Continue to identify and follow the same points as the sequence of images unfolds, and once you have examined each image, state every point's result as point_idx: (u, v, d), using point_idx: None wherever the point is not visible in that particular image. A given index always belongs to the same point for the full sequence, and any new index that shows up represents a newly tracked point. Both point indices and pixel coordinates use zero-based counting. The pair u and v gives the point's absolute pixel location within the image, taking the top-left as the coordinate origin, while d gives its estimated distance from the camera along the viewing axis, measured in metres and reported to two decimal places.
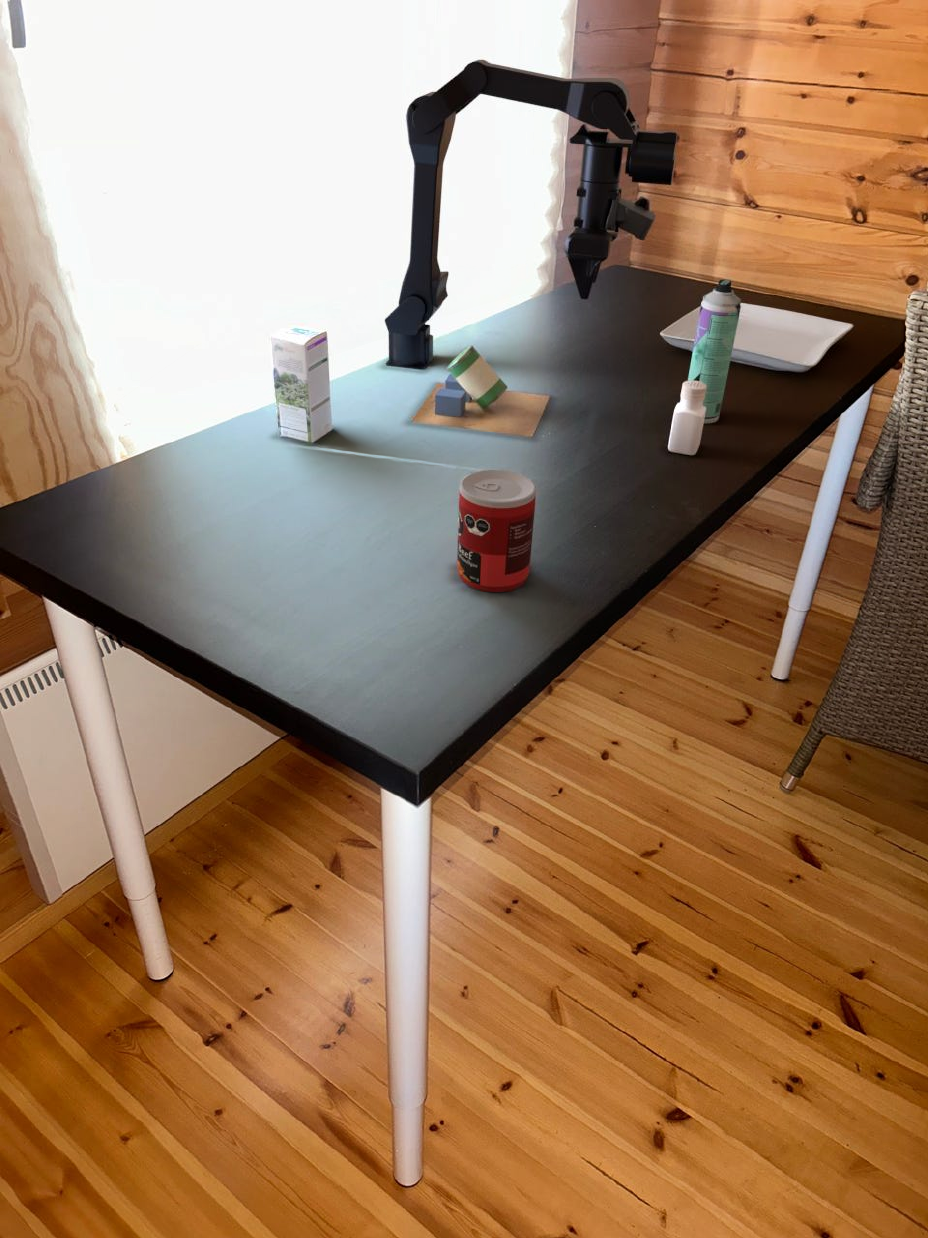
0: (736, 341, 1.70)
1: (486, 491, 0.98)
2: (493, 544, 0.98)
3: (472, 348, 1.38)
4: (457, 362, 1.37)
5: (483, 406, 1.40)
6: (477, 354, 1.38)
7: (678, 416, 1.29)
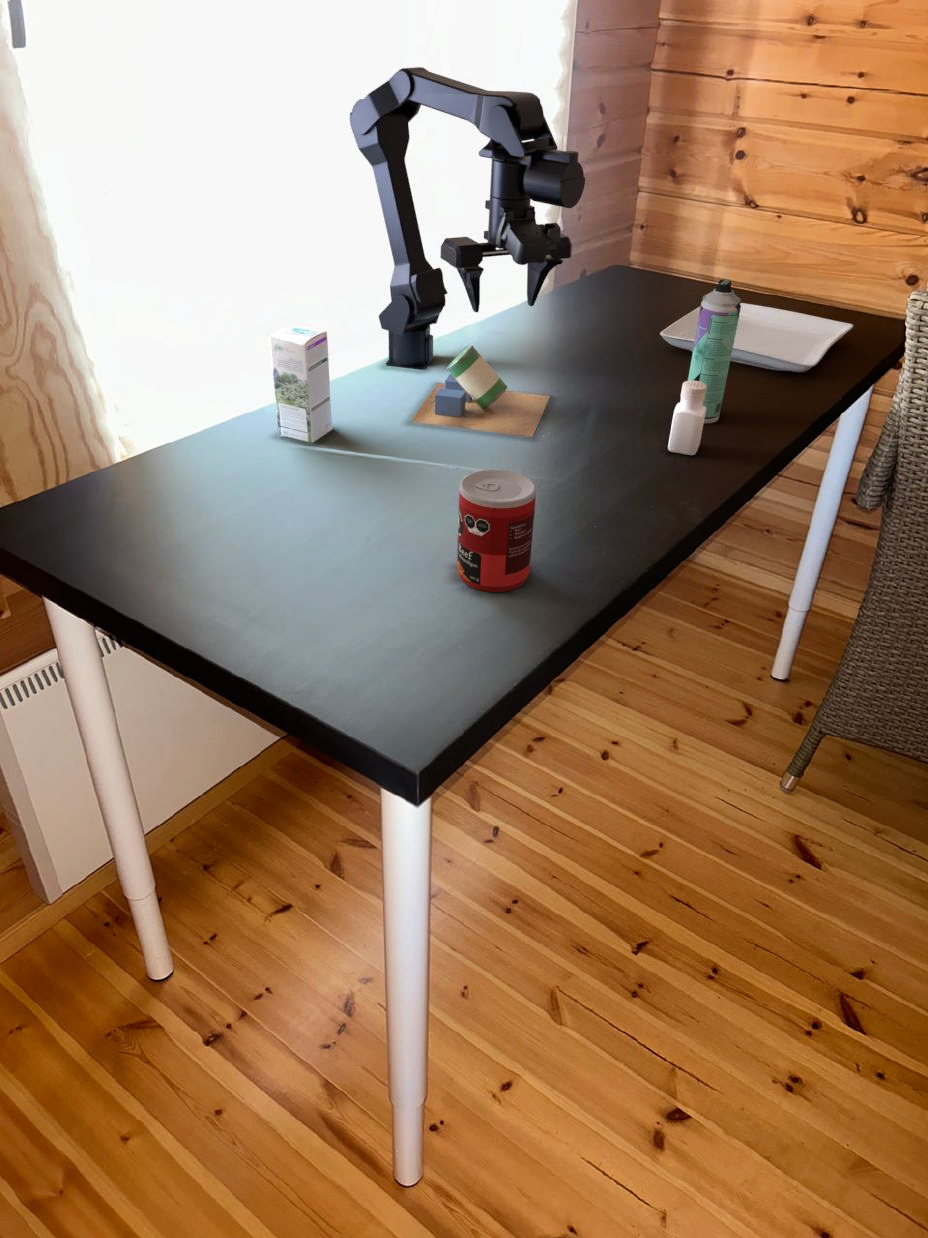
0: (736, 341, 1.70)
1: (486, 491, 0.98)
2: (493, 544, 0.98)
3: (472, 348, 1.38)
4: (457, 362, 1.37)
5: (483, 406, 1.40)
6: (477, 354, 1.38)
7: (678, 416, 1.29)
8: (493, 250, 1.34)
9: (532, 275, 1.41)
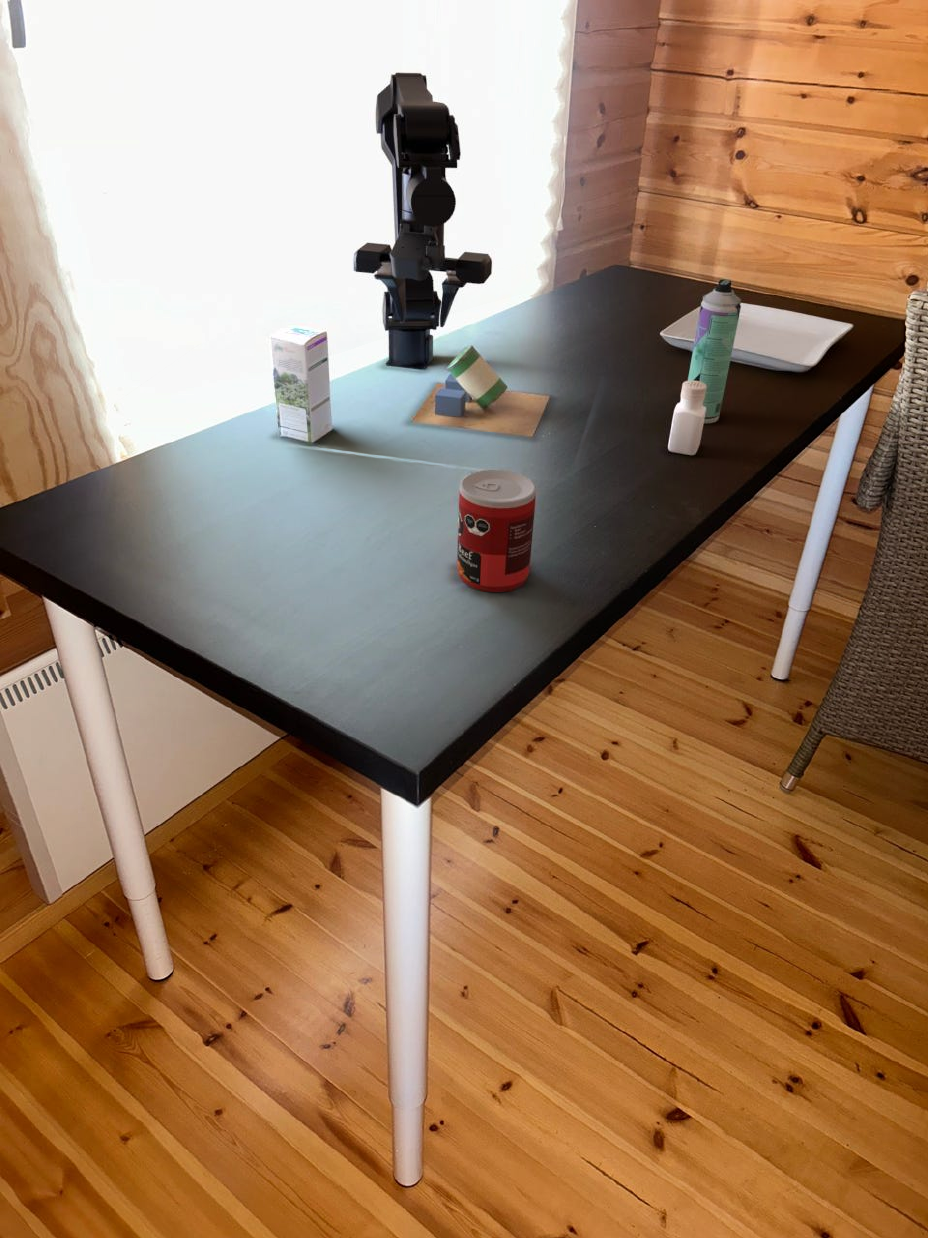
0: (736, 341, 1.70)
1: (486, 491, 0.98)
2: (493, 544, 0.98)
3: (472, 348, 1.38)
4: (457, 362, 1.37)
5: (483, 406, 1.40)
6: (477, 354, 1.38)
7: (678, 416, 1.29)
8: None
9: None
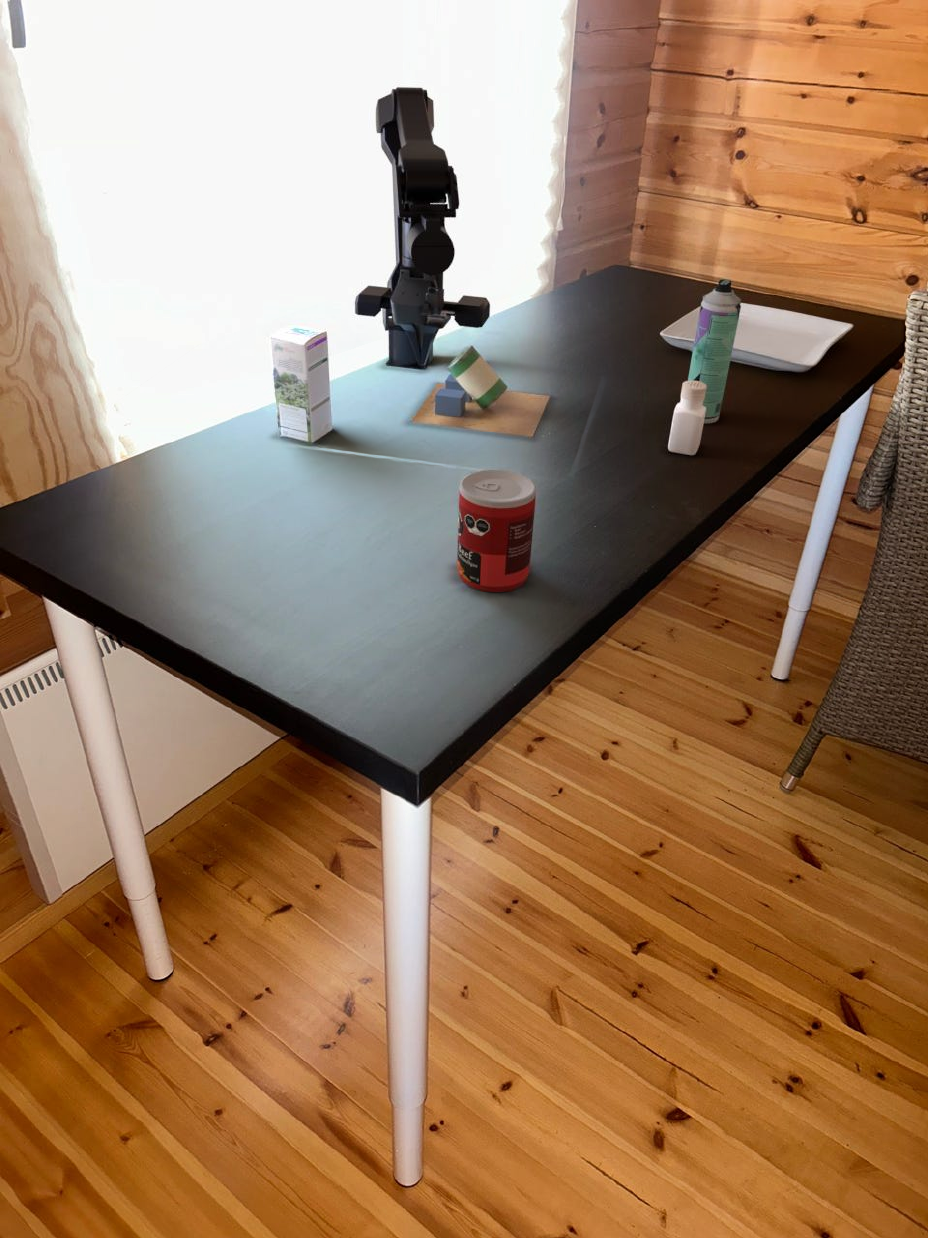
0: (736, 341, 1.70)
1: (486, 491, 0.98)
2: (493, 544, 0.98)
3: (472, 348, 1.38)
4: (457, 362, 1.37)
5: (483, 406, 1.40)
6: (477, 354, 1.38)
7: (678, 416, 1.29)
8: None
9: None
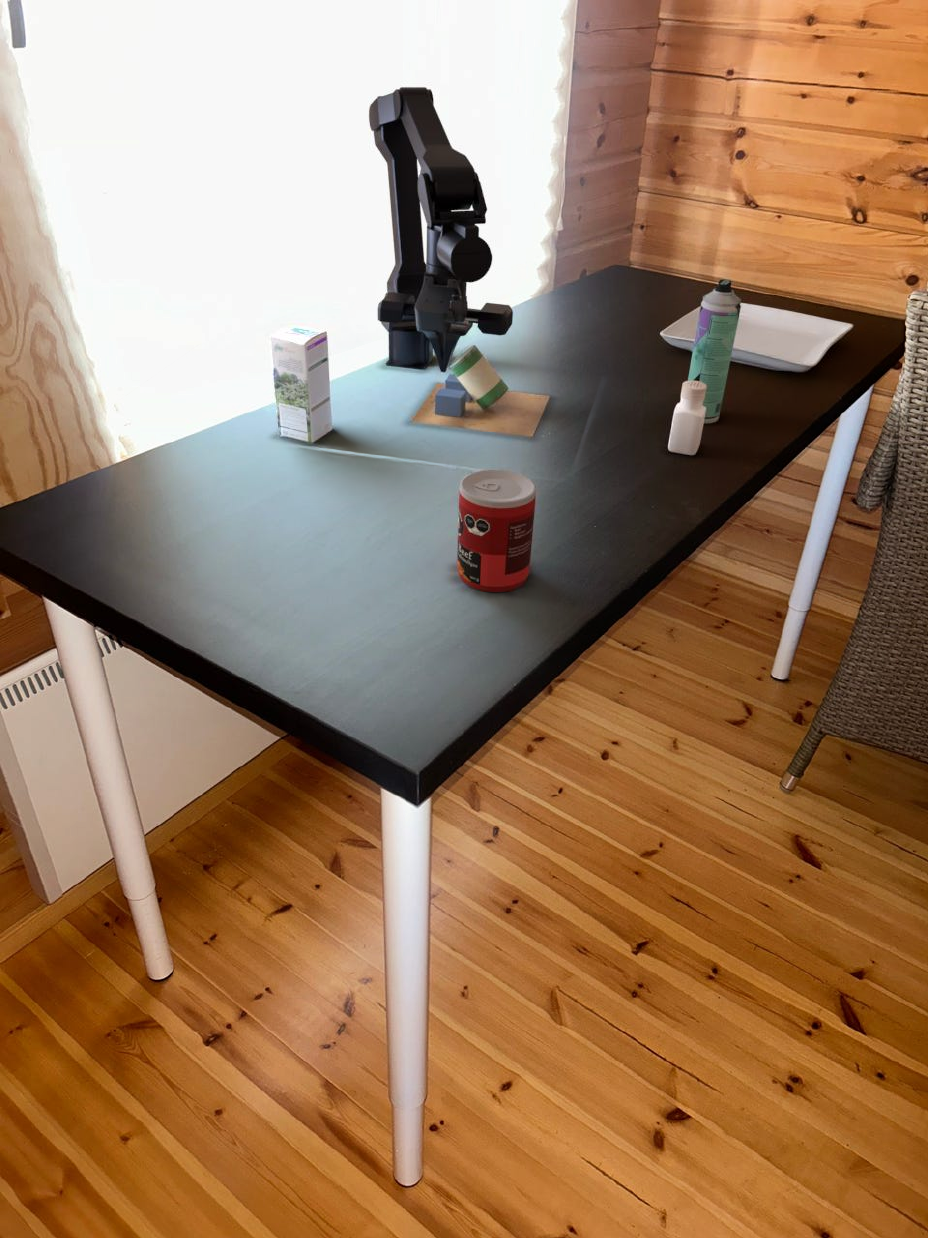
0: (736, 341, 1.70)
1: (486, 491, 0.98)
2: (493, 544, 0.98)
3: (475, 348, 1.37)
4: (459, 361, 1.37)
5: (484, 406, 1.40)
6: (480, 354, 1.38)
7: (678, 416, 1.29)
8: None
9: None
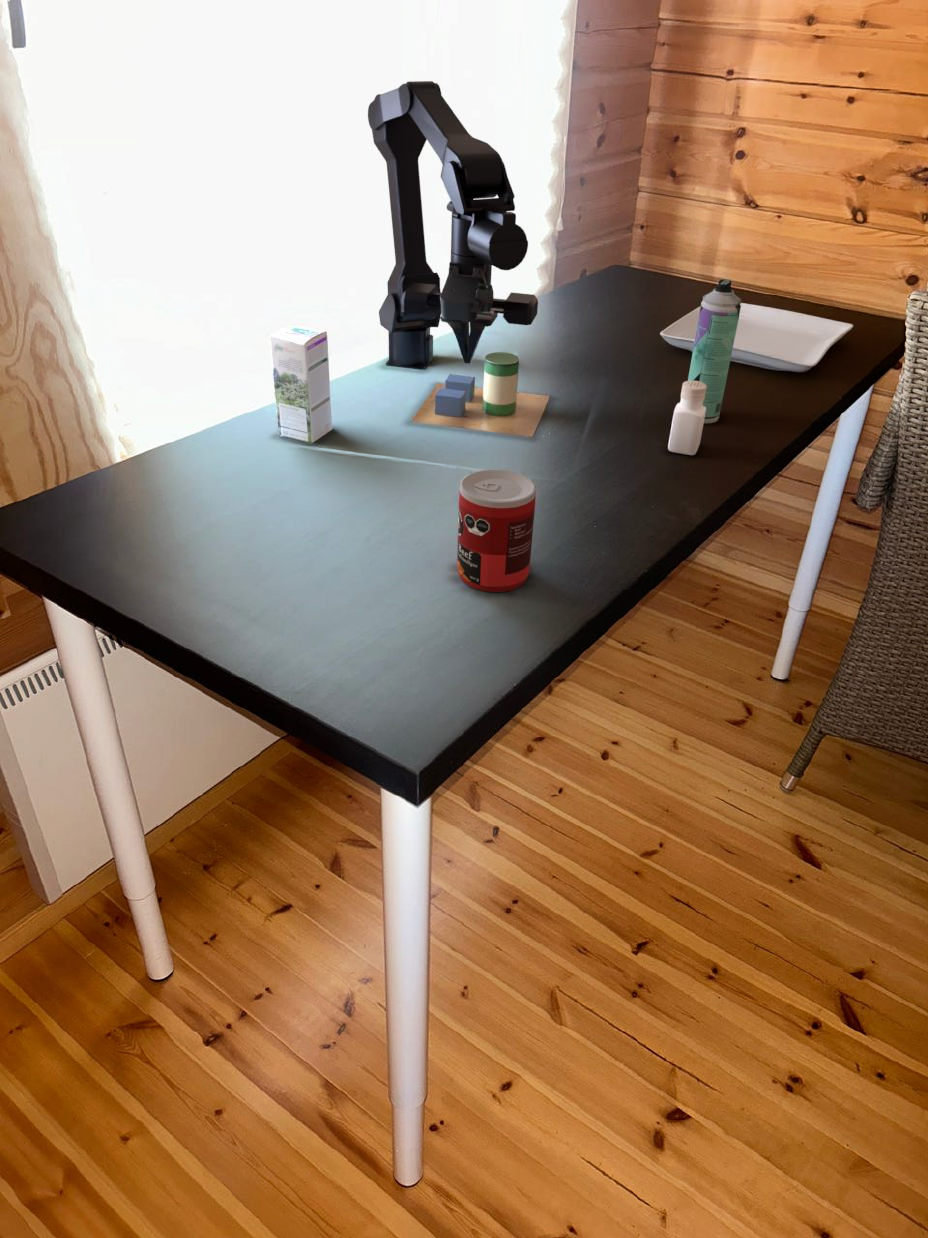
0: (736, 341, 1.70)
1: (486, 491, 0.98)
2: (493, 544, 0.98)
3: (518, 362, 1.37)
4: (500, 365, 1.36)
5: (487, 411, 1.40)
6: (517, 369, 1.38)
7: (678, 416, 1.29)
8: None
9: None
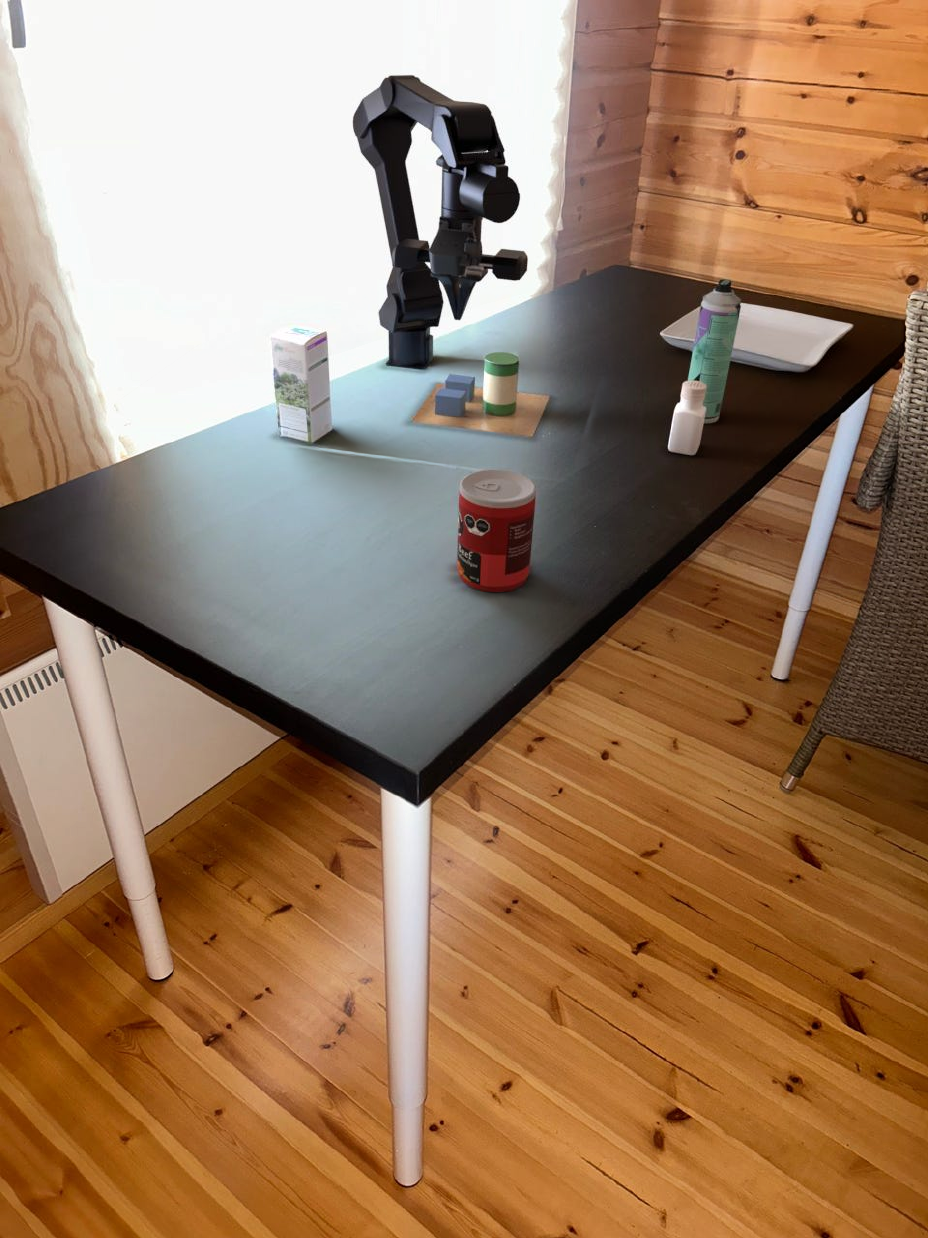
0: (736, 341, 1.70)
1: (486, 490, 0.98)
2: (493, 544, 0.98)
3: (518, 362, 1.37)
4: (500, 365, 1.36)
5: (487, 411, 1.40)
6: (517, 369, 1.38)
7: (678, 416, 1.29)
8: None
9: None
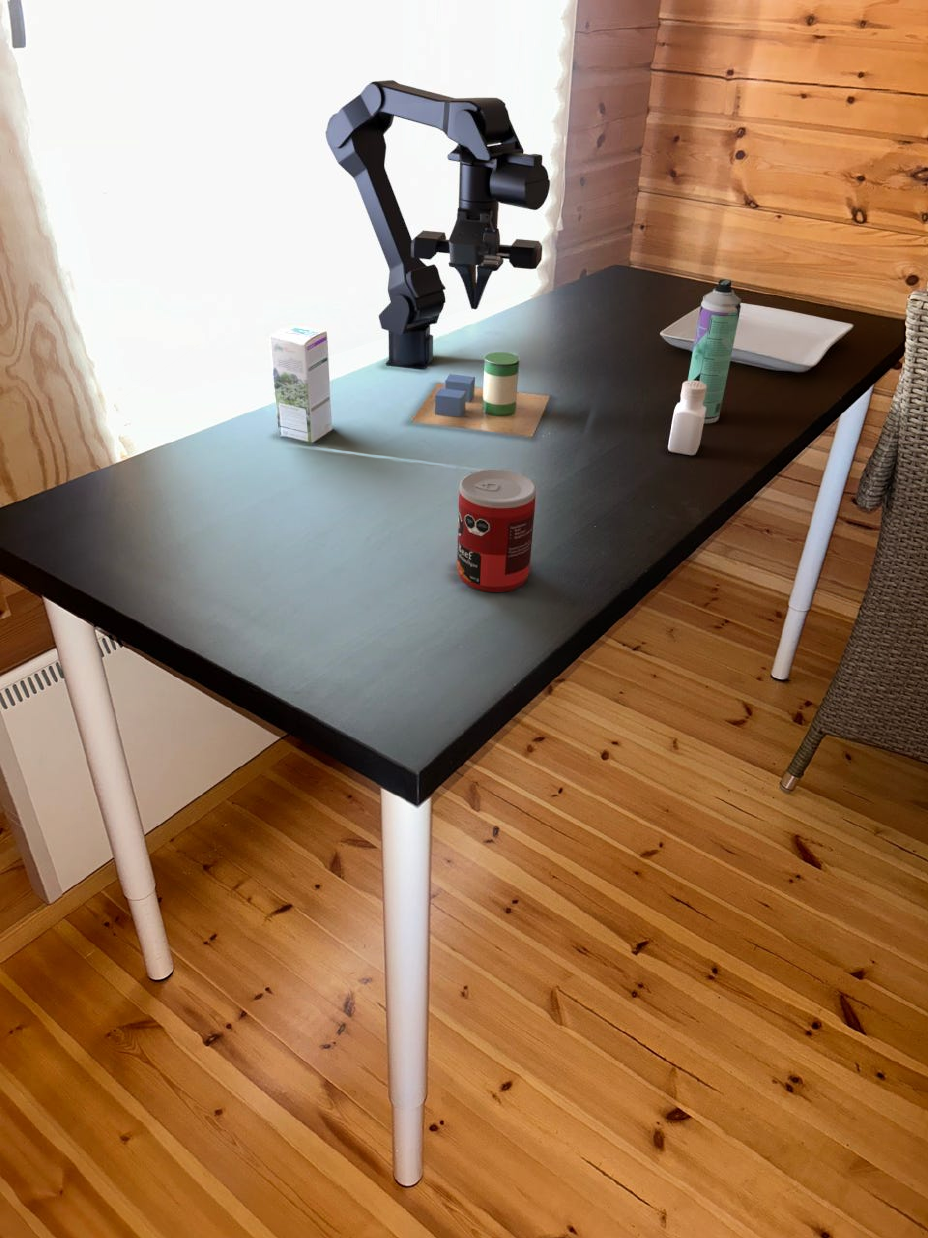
0: (736, 341, 1.70)
1: (486, 490, 0.98)
2: (493, 544, 0.98)
3: (518, 362, 1.37)
4: (500, 365, 1.36)
5: (487, 411, 1.40)
6: (517, 369, 1.38)
7: (678, 416, 1.29)
8: None
9: None
